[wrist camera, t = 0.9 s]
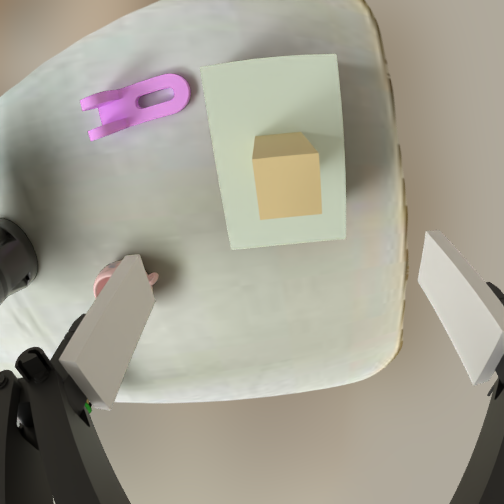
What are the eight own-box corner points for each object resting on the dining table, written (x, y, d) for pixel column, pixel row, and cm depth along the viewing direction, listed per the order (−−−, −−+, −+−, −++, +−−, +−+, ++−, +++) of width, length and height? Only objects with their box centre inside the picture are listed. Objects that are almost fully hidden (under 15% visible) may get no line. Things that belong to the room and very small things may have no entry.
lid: (232, 239, 38) (221, 307, 27) (204, 68, 28) (171, 59, 17) (341, 229, 37) (370, 292, 26) (330, 56, 27) (369, 41, 16)
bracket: (109, 133, 39) (85, 143, 33) (100, 97, 36) (74, 102, 30) (195, 108, 37) (182, 112, 31) (186, 69, 35) (171, 66, 29)
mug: (125, 306, 54) (115, 328, 49) (95, 264, 50) (80, 283, 45) (178, 288, 52) (170, 311, 47) (147, 240, 47) (135, 259, 42)
